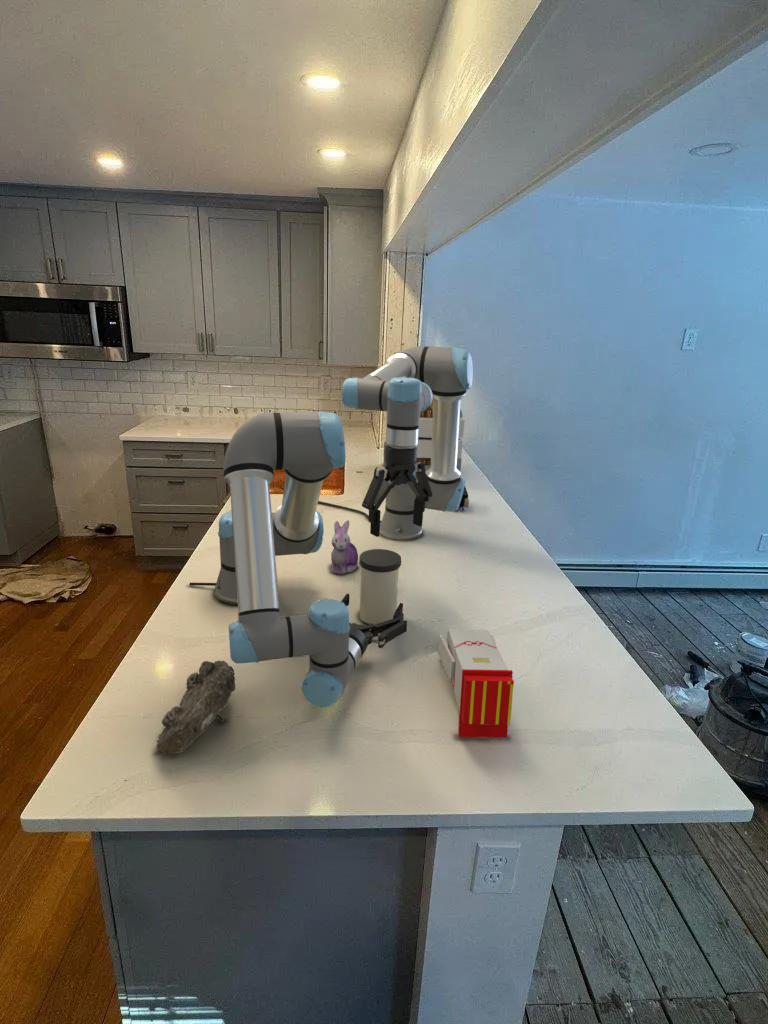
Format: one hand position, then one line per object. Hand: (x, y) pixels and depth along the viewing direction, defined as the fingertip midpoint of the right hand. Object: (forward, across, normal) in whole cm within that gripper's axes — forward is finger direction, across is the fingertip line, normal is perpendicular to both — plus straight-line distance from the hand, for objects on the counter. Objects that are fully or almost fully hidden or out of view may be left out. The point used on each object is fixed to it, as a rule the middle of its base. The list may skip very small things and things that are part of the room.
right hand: (396, 529), depth 140 cm
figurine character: (+22, -75, -52) cm, 94 cm away
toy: (+24, +7, +34) cm, 42 cm away
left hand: (+17, +8, +3) cm, 19 cm away
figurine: (+23, -4, -29) cm, 37 cm away
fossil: (+24, +55, +11) cm, 61 cm away
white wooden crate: (+22, -95, -97) cm, 138 cm away
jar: (+23, +4, -1) cm, 24 cm away
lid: (+7, +4, -1) cm, 8 cm away
